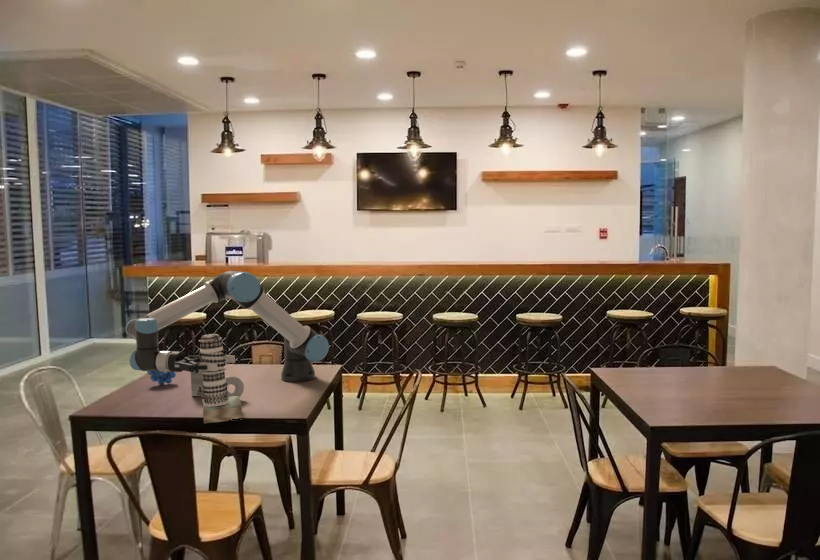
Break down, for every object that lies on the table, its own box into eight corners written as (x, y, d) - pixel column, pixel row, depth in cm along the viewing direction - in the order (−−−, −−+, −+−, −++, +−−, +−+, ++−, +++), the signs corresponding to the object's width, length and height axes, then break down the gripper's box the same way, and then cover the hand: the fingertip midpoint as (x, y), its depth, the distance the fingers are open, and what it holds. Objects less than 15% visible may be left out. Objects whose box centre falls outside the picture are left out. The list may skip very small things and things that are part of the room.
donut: (217, 402, 246) (216, 377, 245) (218, 400, 249) (217, 375, 248) (244, 400, 247) (243, 376, 247) (244, 398, 251) (243, 374, 250)
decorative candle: (226, 405, 221) (219, 336, 219) (199, 407, 221) (193, 337, 219) (232, 399, 230) (226, 332, 228) (207, 401, 230) (201, 333, 228)
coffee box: (202, 391, 263) (201, 353, 262) (216, 391, 262) (215, 354, 260) (191, 397, 254) (189, 358, 253) (205, 397, 253) (203, 358, 252)
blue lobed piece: (148, 388, 269) (146, 361, 267) (147, 385, 275) (146, 358, 274) (176, 385, 273) (175, 358, 272) (175, 381, 279) (174, 355, 278)
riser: (239, 408, 237) (238, 395, 236) (242, 419, 223) (241, 405, 223) (203, 412, 232) (202, 399, 232) (203, 423, 219) (203, 409, 219)
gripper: (190, 364, 242) (241, 365, 238) (152, 379, 218) (209, 381, 214) (189, 345, 241) (240, 346, 238) (151, 358, 217) (208, 360, 213)
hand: (226, 363), depth 226 cm, fingers open, 13 cm apart
